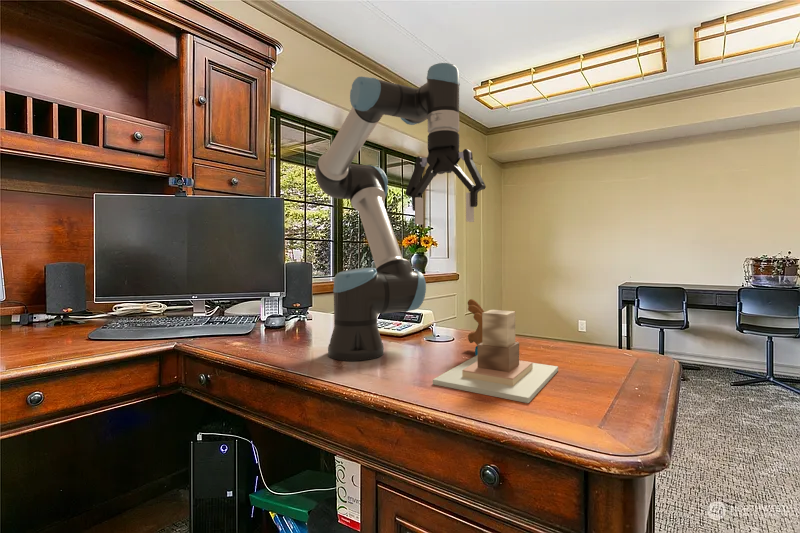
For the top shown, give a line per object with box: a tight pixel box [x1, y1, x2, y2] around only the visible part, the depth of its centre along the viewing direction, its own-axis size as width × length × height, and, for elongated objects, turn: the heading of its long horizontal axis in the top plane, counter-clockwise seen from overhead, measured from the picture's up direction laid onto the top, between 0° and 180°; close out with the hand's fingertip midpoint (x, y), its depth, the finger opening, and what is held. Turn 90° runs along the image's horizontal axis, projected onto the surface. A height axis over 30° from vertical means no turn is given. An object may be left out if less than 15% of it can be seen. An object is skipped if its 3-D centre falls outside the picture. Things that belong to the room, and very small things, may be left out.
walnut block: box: [477, 341, 520, 372], centre depth 89 cm, size 7×7×5 cm
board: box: [432, 355, 559, 404], centre depth 89 cm, size 20×24×2 cm
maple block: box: [482, 309, 516, 348], centre depth 89 cm, size 6×6×7 cm
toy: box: [467, 298, 485, 356], centre depth 110 cm, size 12×7×15 cm, turn 171°
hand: (443, 223), depth 97 cm, fingers open, 13 cm apart
